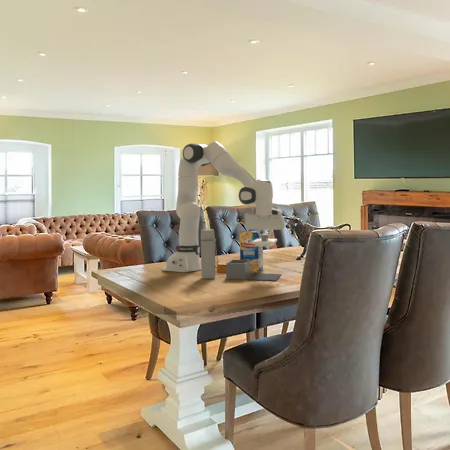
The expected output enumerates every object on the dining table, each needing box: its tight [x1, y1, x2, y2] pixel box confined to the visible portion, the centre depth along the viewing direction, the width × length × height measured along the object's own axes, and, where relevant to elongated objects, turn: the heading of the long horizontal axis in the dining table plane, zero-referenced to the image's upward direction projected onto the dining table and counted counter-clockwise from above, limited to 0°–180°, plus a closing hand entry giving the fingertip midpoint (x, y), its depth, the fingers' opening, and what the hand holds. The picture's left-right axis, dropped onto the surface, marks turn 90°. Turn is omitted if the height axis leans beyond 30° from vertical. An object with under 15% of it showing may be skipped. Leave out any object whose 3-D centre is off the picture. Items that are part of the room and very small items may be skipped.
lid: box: [252, 233, 278, 247], centre depth 240 cm, size 11×13×5 cm
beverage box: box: [239, 230, 264, 273], centre depth 261 cm, size 7×11×22 cm, turn 64°
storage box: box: [225, 259, 252, 280], centre depth 245 cm, size 10×12×8 cm
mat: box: [247, 272, 282, 282], centre depth 241 cm, size 14×16×1 cm
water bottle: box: [200, 228, 219, 280], centre depth 243 cm, size 9×8×25 cm
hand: (264, 238), depth 240 cm, fingers closed on lid, 2 cm apart
